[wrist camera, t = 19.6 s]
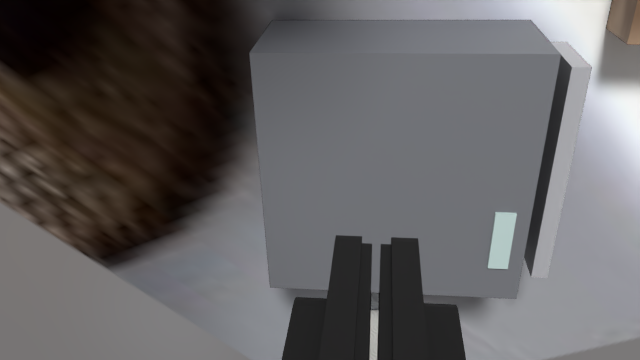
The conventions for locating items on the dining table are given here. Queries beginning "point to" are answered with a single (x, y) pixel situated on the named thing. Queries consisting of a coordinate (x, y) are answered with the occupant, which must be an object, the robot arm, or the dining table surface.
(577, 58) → the tray
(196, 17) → the dining table surface
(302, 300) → the robot arm
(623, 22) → the pedestal
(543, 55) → the grey drawer box
